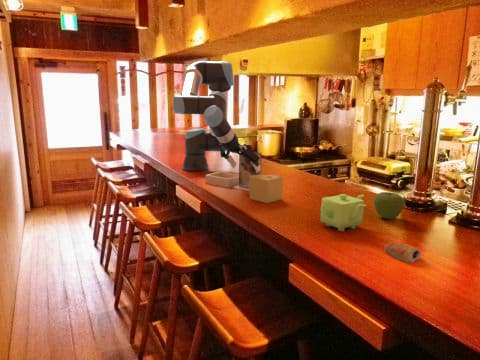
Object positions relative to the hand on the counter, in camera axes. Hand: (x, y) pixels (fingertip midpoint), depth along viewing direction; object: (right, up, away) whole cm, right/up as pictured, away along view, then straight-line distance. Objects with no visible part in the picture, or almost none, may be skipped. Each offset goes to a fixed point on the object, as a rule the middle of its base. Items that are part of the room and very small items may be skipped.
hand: (246, 167), depth 176 cm
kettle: (+32, -22, -46) cm, 60 cm away
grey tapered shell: (+42, -27, -69) cm, 86 cm away
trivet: (+1, -9, +5) cm, 11 cm away
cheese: (+8, -14, -14) cm, 21 cm away
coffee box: (+2, -9, +5) cm, 10 cm away
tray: (-11, -7, +13) cm, 19 cm away
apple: (+51, -20, -36) cm, 65 cm away
